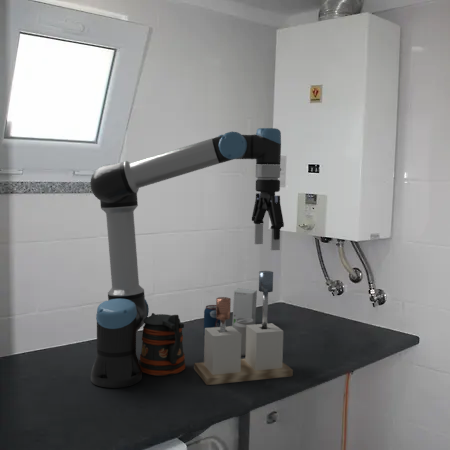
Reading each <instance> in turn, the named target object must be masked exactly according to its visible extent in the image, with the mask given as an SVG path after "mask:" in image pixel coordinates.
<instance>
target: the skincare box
mask: <svg viewBox="0 0 450 450" xmlns="http://www.w3.org/2000/svg"><path fill="white" fill-rule="evenodd" d="M257 298H258V290H257V289H249V288H239V287H238V288H236V289H235V290H234V291H233V305H232V306H233V308H232V323H231V324H232V325H231V326H232V327H233V328H234V323H235V322H236V319H238V318H250V319H253V322H254V324H256V315H257V311H256V310H257Z"/></svg>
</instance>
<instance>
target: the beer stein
mask: <svg viewBox="0 0 450 450" xmlns="http://www.w3.org/2000/svg"><path fill="white" fill-rule="evenodd" d="M143 322H144V325H143V326H142V328H143V329H142V334H141V341H142V343H141V352H140V354H139V364H140V367H141V371H142V373H143V374H146V375H151V376H156V377H165V376H173V375H176V374H180V373H181V372H183V371H185V369H186V360H185V357H186V356H185V352H184V347H183V346H184V345H183V341H184V335H183V329H184V328H185V324H184V323H182V322H181V320H180V316H179V314H172V315H171V314H162V313H160V314H158V313H157V314H156V313H154V312H152V313H151V315H150V316H149V315H148V317H147V318H145V319H144V320H143Z"/></svg>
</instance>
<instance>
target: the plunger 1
mask: <svg viewBox="0 0 450 450" xmlns="http://www.w3.org/2000/svg"><path fill="white" fill-rule="evenodd" d="M231 300H232V299H231V297H227V296H226V297H225V296H219V297H216V300H215V301H216V303H215V305H216V318H217V319H220V333H223V332H225V327H227V326H226V321H227V320H230V319H231V303H232V301H231Z"/></svg>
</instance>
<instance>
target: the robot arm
mask: <svg viewBox="0 0 450 450" xmlns="http://www.w3.org/2000/svg"><path fill="white" fill-rule="evenodd" d="M281 153H282V132H281V130H280V129H279V128H277V127H276V128H275V127H274V128H272V127H262V128H261V127H260V128H257V129H256V133H255V134H241V133H239V132H237V131H229V132H226V133H224V134H219V135H218V136H215V137H214V138H209V139H206V140H202V141H198V142H196V143H193V144H189V145H185V146H183V147H180V148H177V149H173V150H170V151H166V152H163V153H160V154H156V155H153V156H150V157H147V158H144V159H141V160H140V159H139V160H137V161H133V162H129V161H128V160H125V161H121V162H118V163H112V164H105V165H101V166H100V167H98V168H97V169H95V171H94V172H93V174H92V176H91V178H90V190H91V193H92V194H93V195H94V196H95V197H96V198H97V200H99V202H100V203H99V204H100V209H101V210H102V211H103V212H104V213H105V216H106V227H107V228H106V229H107V237H108V238H107V240H108V253H109V267H110V276H111V277H110V280H111V288H110V290H108V292H107V299H108V300H104V301H102V302H101V303H100V304H99V305H98V306H97V309H96V315H95V318H96V356H95V360H94V362H93V366H92V368H91V372H90V381H91V383H92V384H93V385H95V386H98V387H102V388H108V389H109V388H111V389H118V388H119V389H120V388H126V387H130V386H134V385H136V384H138V383H140V381H141V380H142V378H143V377H142V376H143V374H142V371H141V367H140V360H139V359H138V355H137V332H138V331H139V330H140V329H141V328H143V326H144V325H145V323H144V322H143V320H144V319H145V318H147V317H149V313H150V312H149V304H148V301H147V299H146V298H145V297H146V296H145V289H144V288H143V287H142V286H141V285H140V281H139V267H138V253H137V243H136V241H137V239H136V230H135V229H136V228H135V215H134V214H135V213H134V211H135V210H136V209H137V208H138V206H139V205H138V192H139V190H140V188H143V187H146V186H149V185H153V184H157V183H160V182H163V181H166V180H170V179H173V178H175V177H179V176H182V175H186V174H190V173H193V172H196V171H199V170H203V169H206V168H209V167H212V166H215V165H219V164H223V163H226V162H230V161H233V160H255V178H256V180H255V191H256V192H259V193H255V201H254V205H253V206H254V207H253V211H252V216H251V221H252V222H253V224H254V227H253V229H254V234H253V245H263V244H264V218H265V215H266V214H267V213H268V217H269V221H270V224H271V225H270V248H269V249H270V250H269V251H281V250H280V248H281V229H282V228H284V226H285V222H284V217H283V211H282V206H281V205H282V204H281V195H276V193H278V192H280V190H281V180H280V178H281V171H282V168H281V160H282V159H281ZM266 212H267V213H266Z"/></svg>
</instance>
